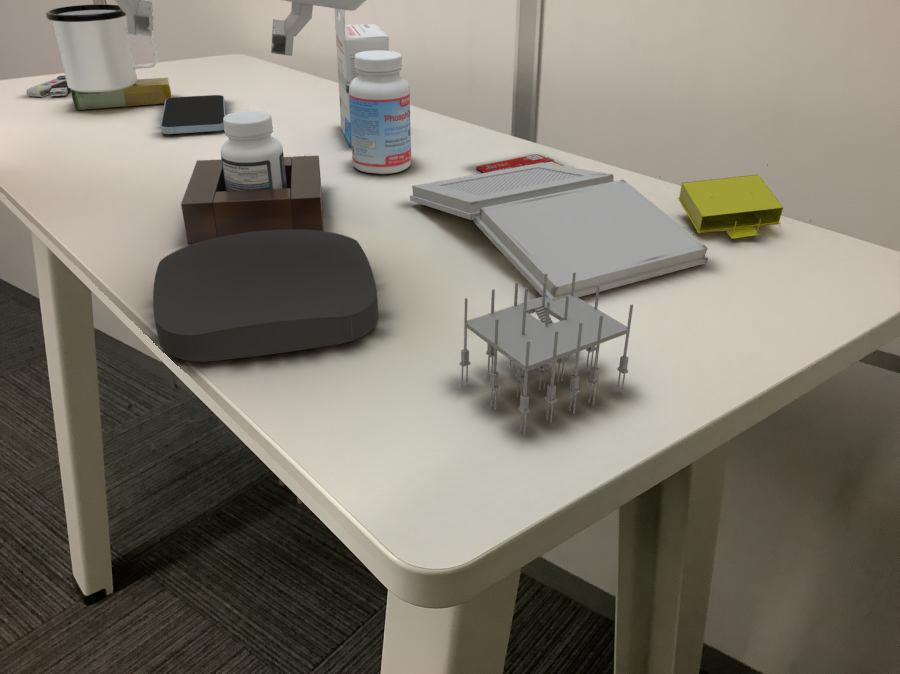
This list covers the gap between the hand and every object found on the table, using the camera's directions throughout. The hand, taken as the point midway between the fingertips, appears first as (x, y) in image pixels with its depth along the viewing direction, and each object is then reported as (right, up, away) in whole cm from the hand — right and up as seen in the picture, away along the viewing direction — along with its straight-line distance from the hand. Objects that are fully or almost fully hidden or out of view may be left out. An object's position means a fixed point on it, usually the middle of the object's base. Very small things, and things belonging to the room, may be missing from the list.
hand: (212, 40), depth 56 cm
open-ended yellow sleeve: (+41, -9, +13) cm, 44 cm away
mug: (-27, +11, +47) cm, 55 cm away
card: (+25, -4, +25) cm, 36 cm away
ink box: (+7, +2, +37) cm, 38 cm away
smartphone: (-15, +6, +43) cm, 46 cm away
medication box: (-27, +12, +51) cm, 59 cm away
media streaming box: (+4, -19, +1) cm, 19 cm away
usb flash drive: (-39, +15, +55) cm, 68 cm away
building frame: (+22, -24, -7) cm, 33 cm away
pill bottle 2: (+9, -3, +28) cm, 30 cm away
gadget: (+25, -12, +13) cm, 30 cm away
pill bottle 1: (-1, -10, +16) cm, 19 cm away
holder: (-1, -10, +16) cm, 19 cm away
